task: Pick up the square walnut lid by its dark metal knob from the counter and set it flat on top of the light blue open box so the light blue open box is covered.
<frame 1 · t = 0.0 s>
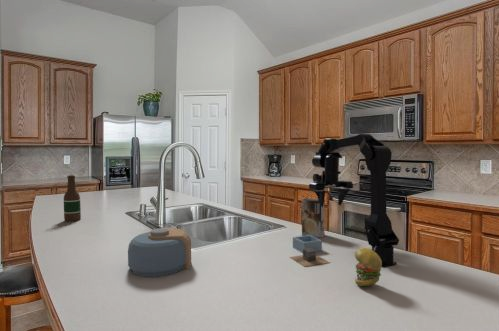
hand: (330, 205, 134), 15 cm above the counter, tool pointing down, fingers open, 9 cm apart
coffee box: (313, 235, 143), on the counter
blue squat cylinder: (160, 266, 106), on the counter
light blue open box: (307, 248, 124), on the counter
hamburger: (367, 286, 91), on the counter
beer bottle: (72, 220, 171), on the counter
lid: (309, 261, 112), on the counter
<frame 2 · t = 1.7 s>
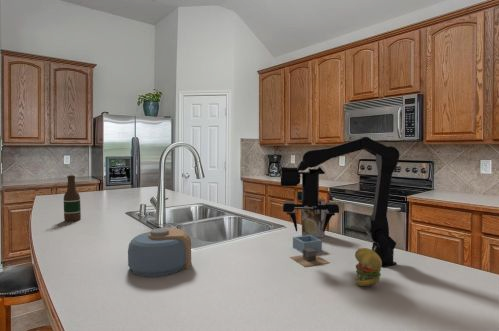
hand: (309, 231, 111), 10 cm above the counter, tool pointing down, fingers open, 9 cm apart
nothing on the counter moved.
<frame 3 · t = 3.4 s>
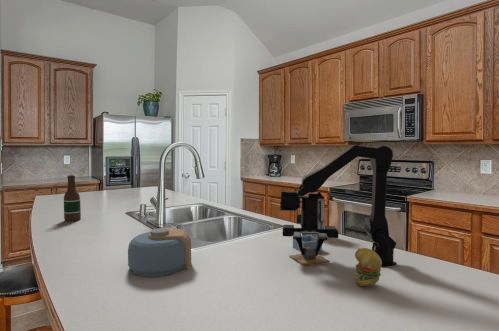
hand: (309, 255, 111), 2 cm above the counter, tool pointing down, fingers closed on lid, 4 cm apart
lid: (309, 260, 112), on the counter, touching gripper
everything else where it was.
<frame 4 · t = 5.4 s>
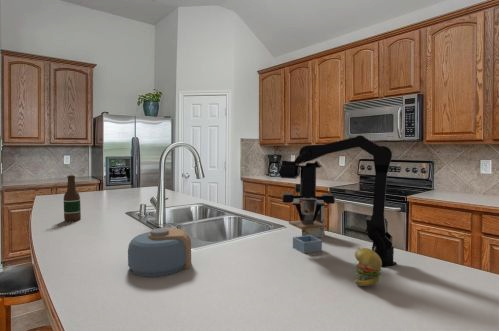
hand: (307, 221, 119), 12 cm above the counter, tool pointing down, fingers closed on lid, 4 cm apart
lid: (307, 225, 119), point 10 cm above the counter, touching gripper
everything else where it was.
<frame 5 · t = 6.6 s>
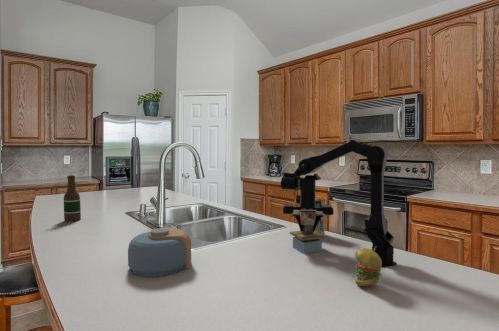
hand: (307, 231, 123), 7 cm above the counter, tool pointing down, fingers closed on lid, 4 cm apart
lid: (307, 235, 123), point 5 cm above the counter, touching gripper
everything else where it was.
when the fingers open (7 cm above the counter, at t = 7.2 s): lid drops 1 cm, resting on light blue open box.
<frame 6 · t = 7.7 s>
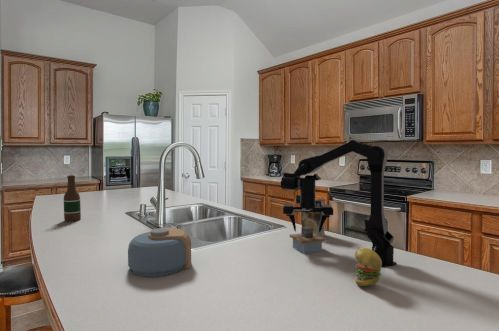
hand: (307, 231, 123), 7 cm above the counter, tool pointing down, fingers open, 9 cm apart
lid: (307, 238, 123), point 4 cm above the counter, touching light blue open box
everything else where it was.
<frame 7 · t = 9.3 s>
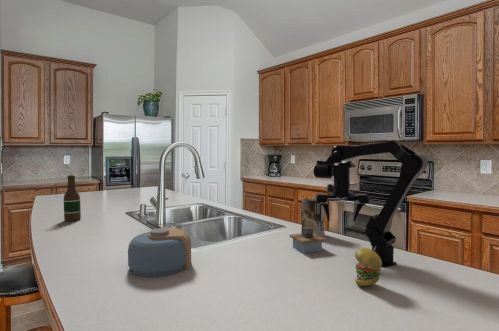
hand: (341, 221, 119), 12 cm above the counter, tool pointing down, fingers open, 9 cm apart
nothing on the counter moved.
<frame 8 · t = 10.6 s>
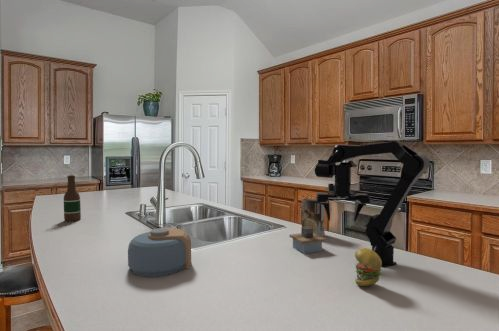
hand: (341, 220, 119), 12 cm above the counter, tool pointing down, fingers open, 9 cm apart
nothing on the counter moved.
at the end: lid 0.0 cm off-centre on the light blue open box, point 4.0 cm above the light blue open box's base; lid tilted 0°; the gripper is holding nothing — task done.
